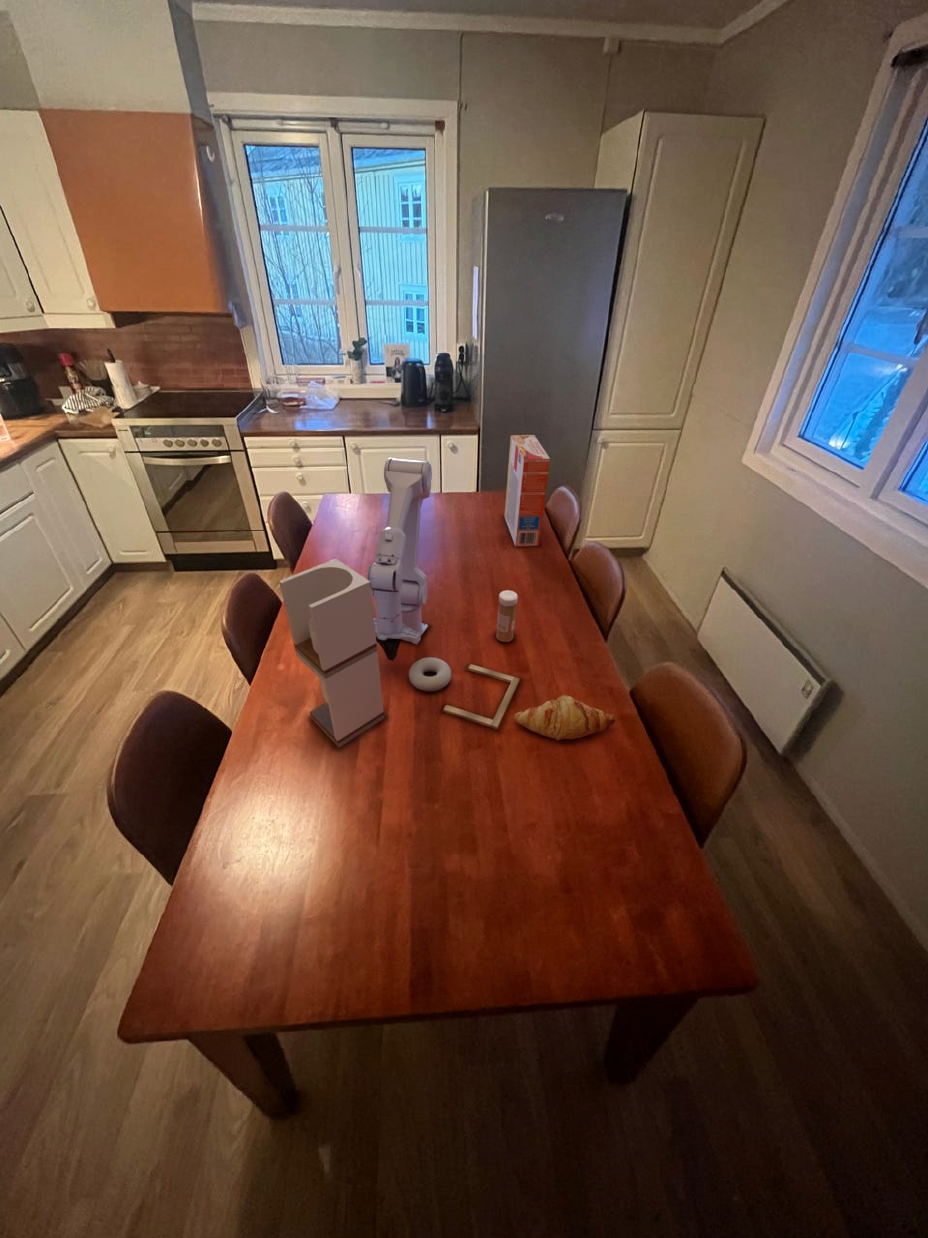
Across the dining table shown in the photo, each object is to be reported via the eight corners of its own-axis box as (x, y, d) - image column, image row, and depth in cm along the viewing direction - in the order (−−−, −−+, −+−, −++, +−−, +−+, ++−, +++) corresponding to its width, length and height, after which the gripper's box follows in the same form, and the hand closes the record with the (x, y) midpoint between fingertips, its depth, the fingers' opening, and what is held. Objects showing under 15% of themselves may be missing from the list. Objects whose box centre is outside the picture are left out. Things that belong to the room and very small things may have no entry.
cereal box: (538, 545, 171) (550, 458, 153) (515, 546, 170) (523, 458, 152) (525, 516, 189) (534, 435, 171) (504, 516, 188) (510, 435, 170)
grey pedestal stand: (355, 692, 114) (335, 558, 93) (384, 718, 108) (370, 581, 87) (311, 718, 107) (278, 580, 86) (338, 747, 102) (311, 607, 80)
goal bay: (443, 711, 110) (443, 709, 109) (470, 666, 122) (470, 663, 121) (497, 729, 106) (497, 727, 106) (519, 681, 118) (519, 678, 118)
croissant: (513, 744, 108) (517, 736, 100) (512, 698, 112) (515, 688, 104) (612, 745, 107) (623, 737, 100) (607, 699, 112) (617, 688, 104)
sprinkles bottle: (516, 639, 131) (521, 596, 122) (502, 645, 129) (506, 602, 120) (506, 629, 134) (510, 587, 125) (492, 635, 132) (495, 593, 123)
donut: (449, 664, 122) (408, 665, 121) (450, 653, 120) (408, 654, 119) (452, 694, 114) (408, 695, 114) (453, 683, 112) (408, 684, 111)
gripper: (350, 613, 110) (356, 659, 118) (409, 630, 106) (411, 677, 114) (367, 596, 115) (372, 642, 123) (424, 612, 111) (425, 658, 119)
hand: (392, 657), depth 119 cm, fingers closed
